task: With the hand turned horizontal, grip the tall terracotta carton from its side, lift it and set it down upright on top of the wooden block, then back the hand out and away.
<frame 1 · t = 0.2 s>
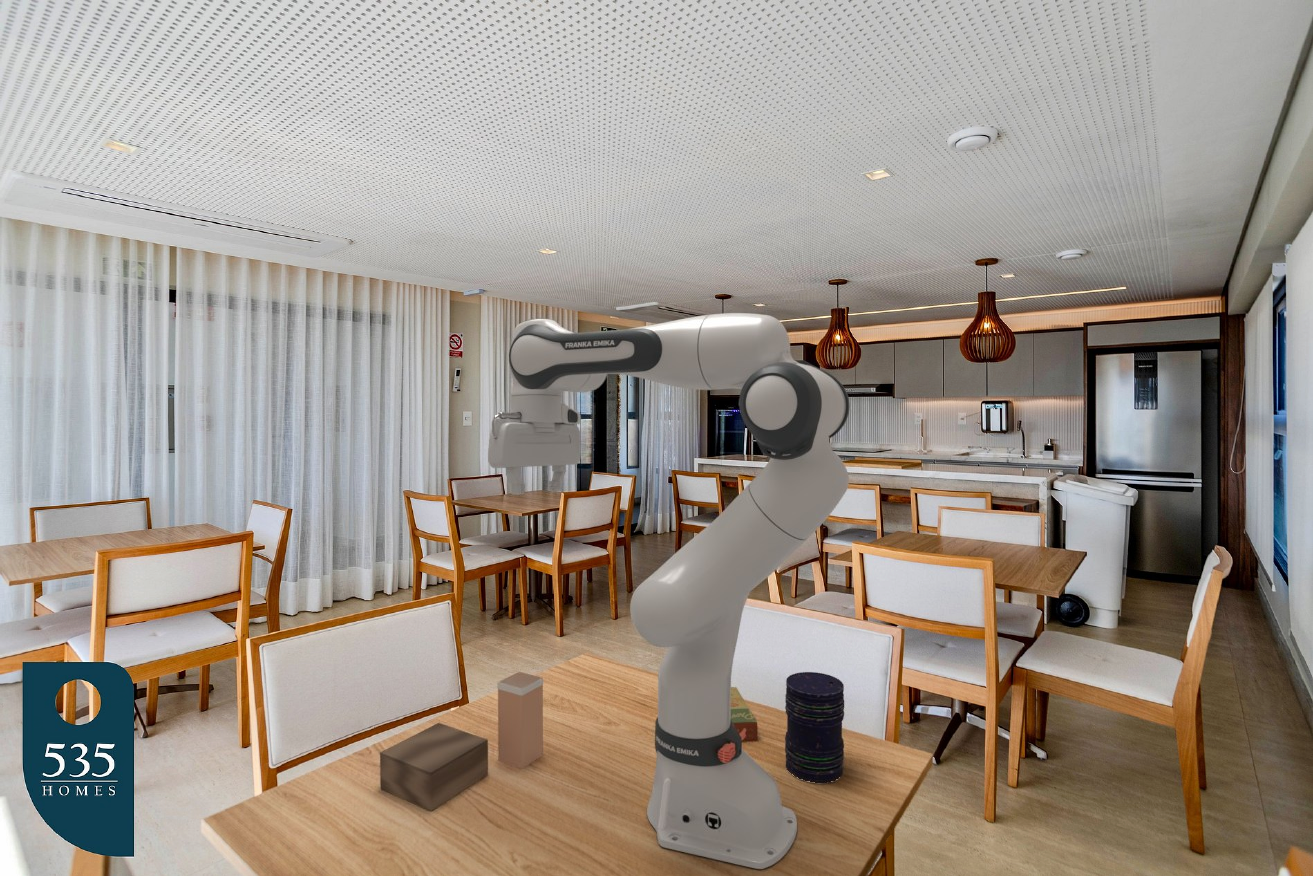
hand: (537, 492, 114), 47 cm above the table, tool pointing down, fingers open, 8 cm apart
tall carton: (520, 757, 116), on the table
wooden block: (435, 781, 108), on the table
storage jar: (813, 769, 112), on the table
carton: (726, 725, 129), on the table
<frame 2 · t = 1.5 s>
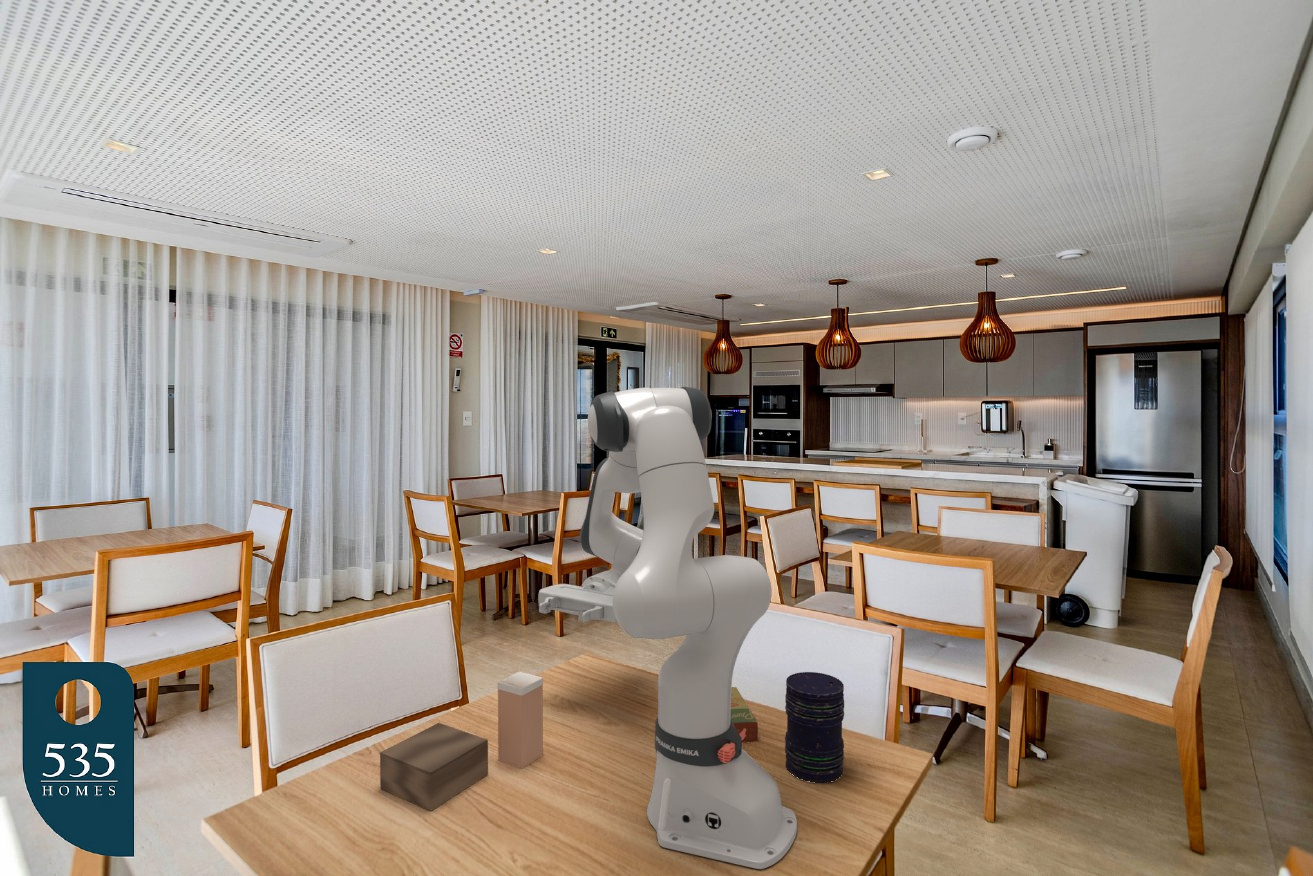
hand: (561, 613, 125), 23 cm above the table, tool horizontal, fingers open, 8 cm apart
nothing on the table moved.
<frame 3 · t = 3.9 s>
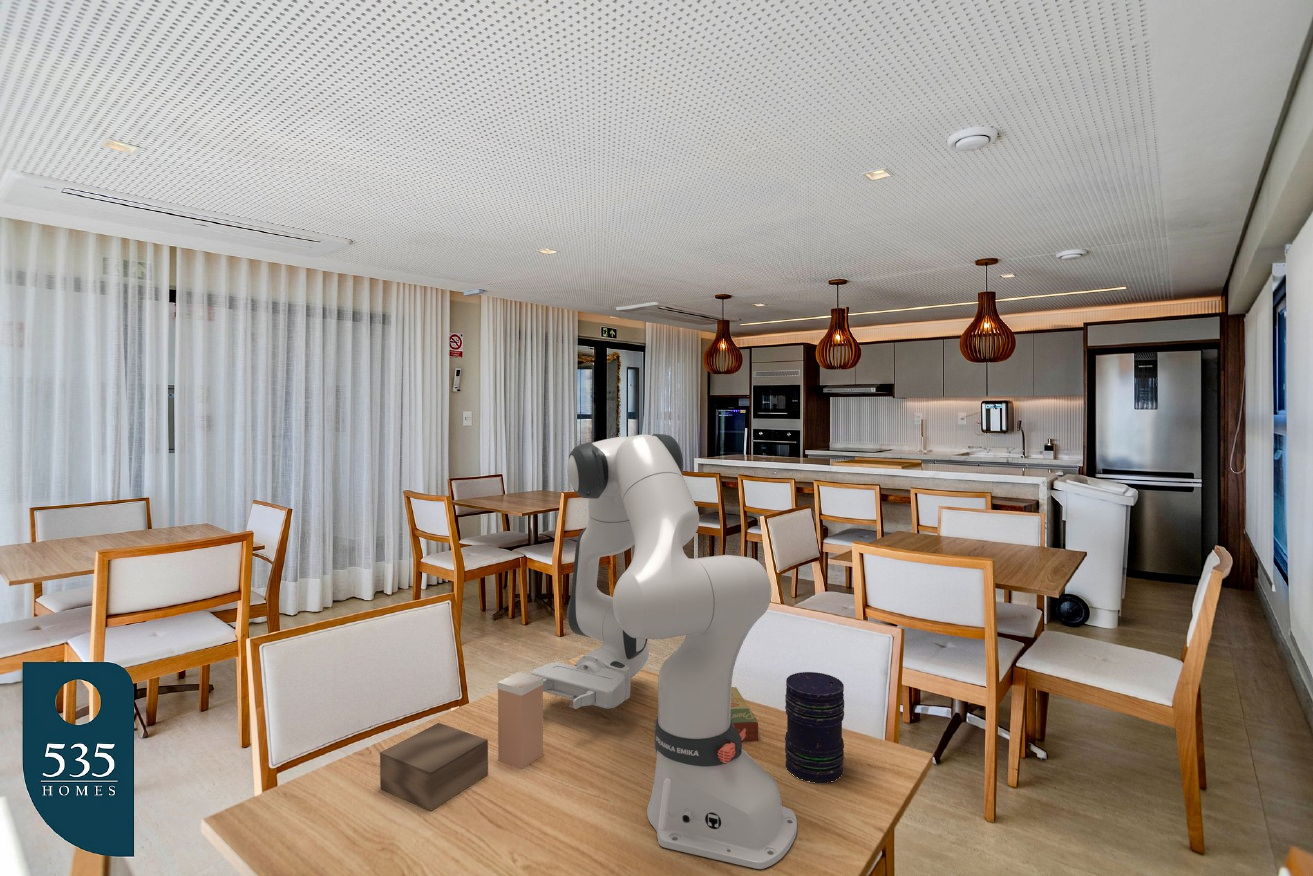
hand: (552, 698, 123), 7 cm above the table, tool horizontal, fingers open, 8 cm apart
nothing on the table moved.
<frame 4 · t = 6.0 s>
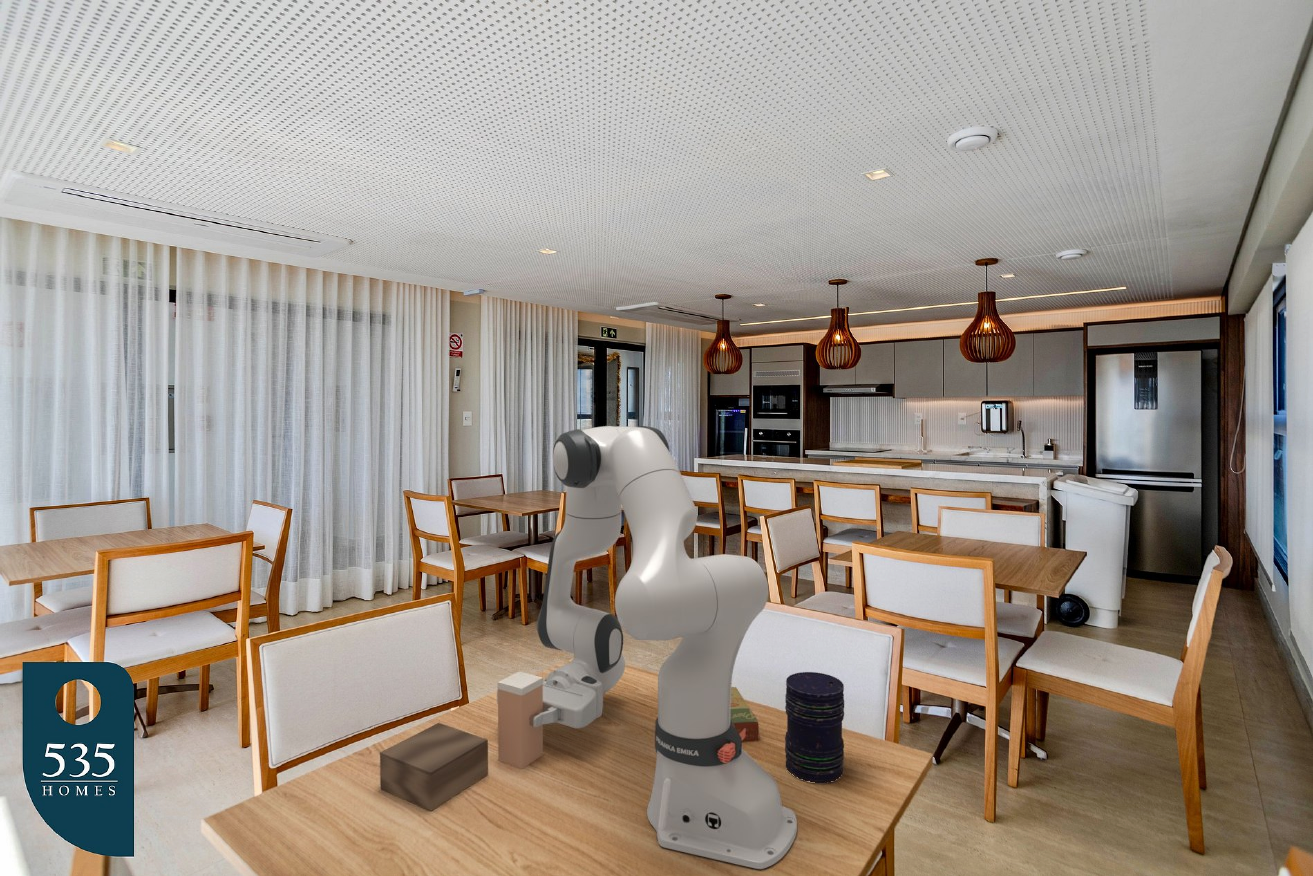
hand: (517, 717, 115), 8 cm above the table, tool horizontal, fingers closed on tall carton, 5 cm apart
tall carton: (520, 757, 116), on the table, touching gripper
everything else where it was.
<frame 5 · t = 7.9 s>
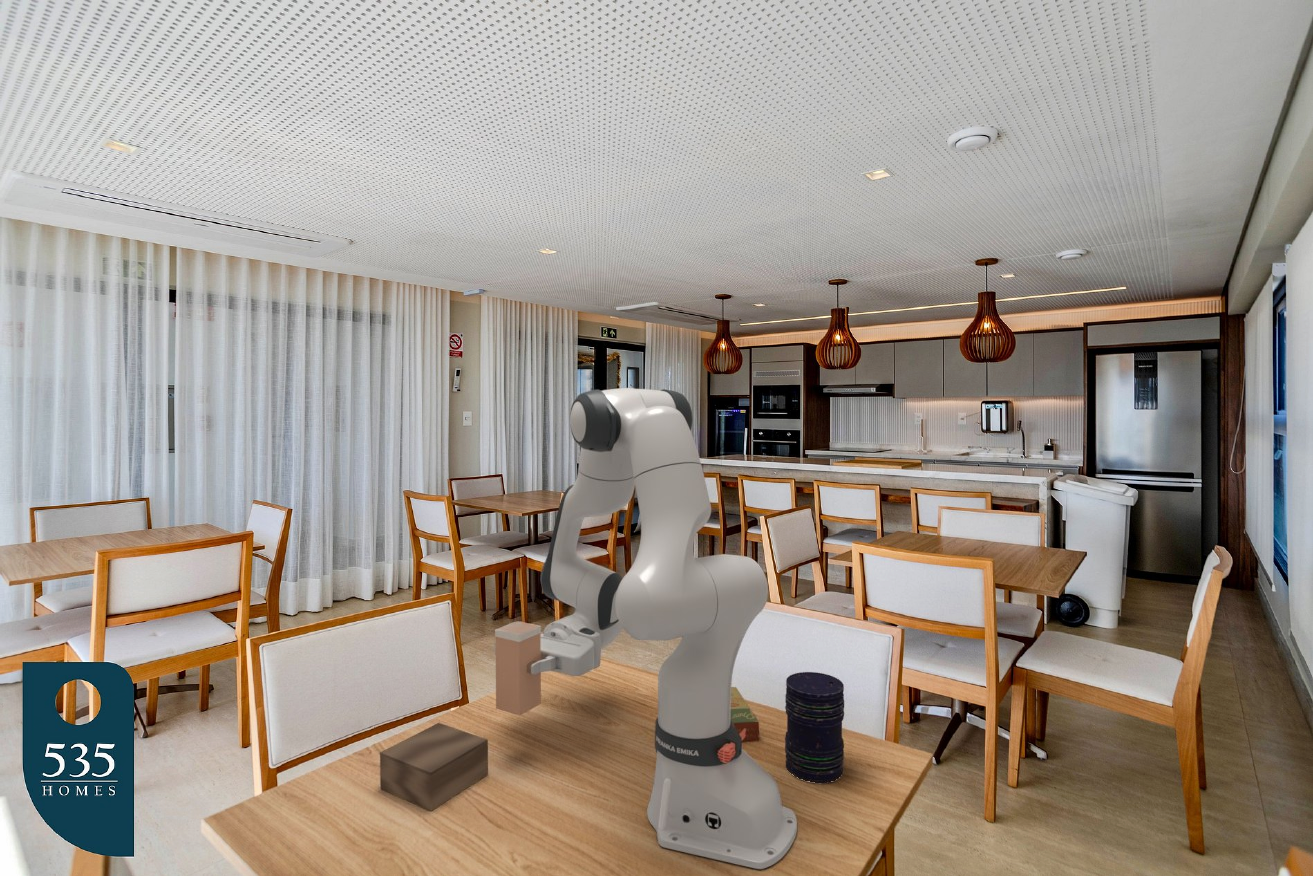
hand: (514, 665, 114), 17 cm above the table, tool horizontal, fingers closed on tall carton, 5 cm apart
tall carton: (518, 706, 115), point 9 cm above the table, touching gripper
everything else where it was.
when the fingers open (15 cm above the table, at t = 9.9 s): tall carton drops 1 cm, resting on wooden block.
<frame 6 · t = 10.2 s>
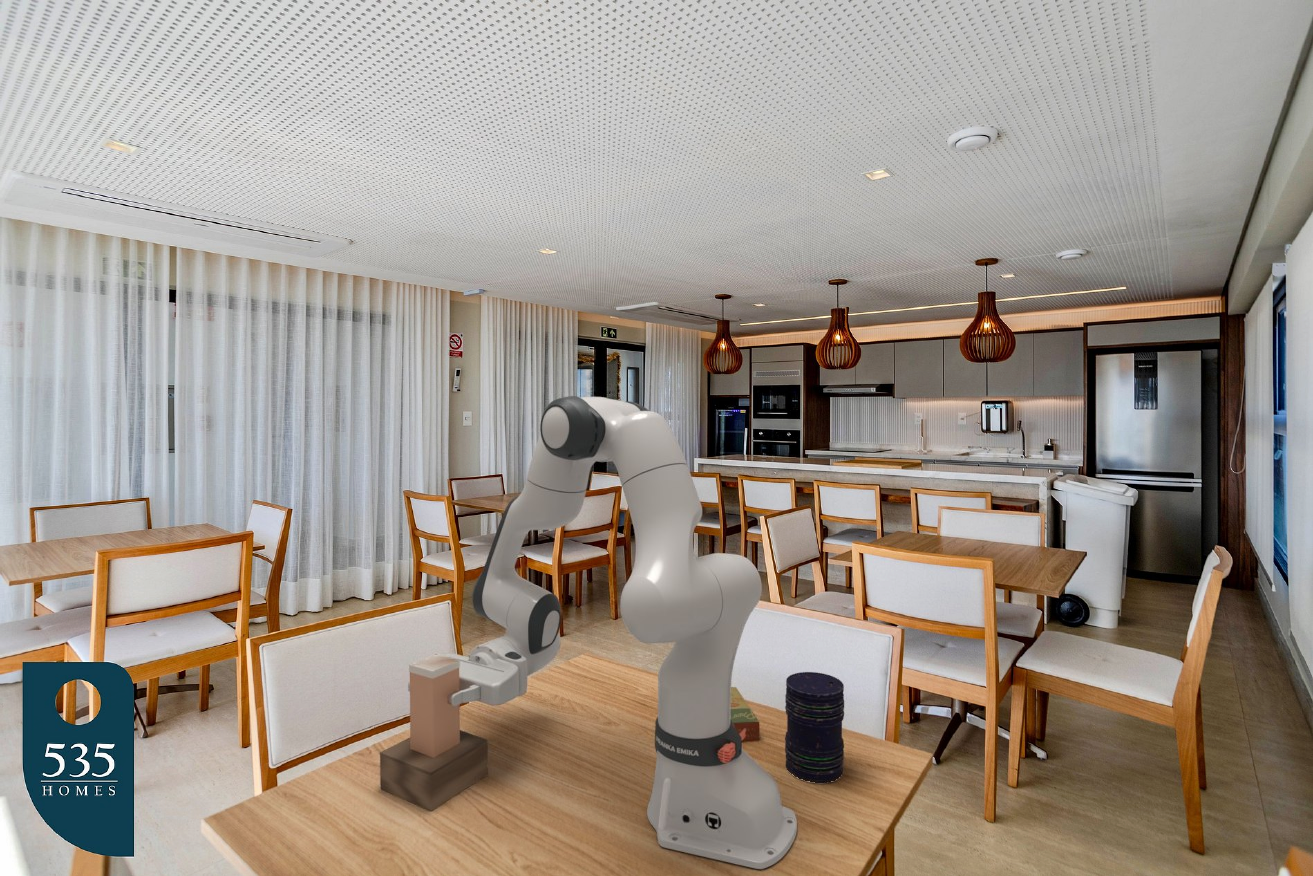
hand: (430, 694, 107), 15 cm above the table, tool horizontal, fingers open, 8 cm apart
tall carton: (435, 746, 108), point 6 cm above the table, touching wooden block
everything else where it was.
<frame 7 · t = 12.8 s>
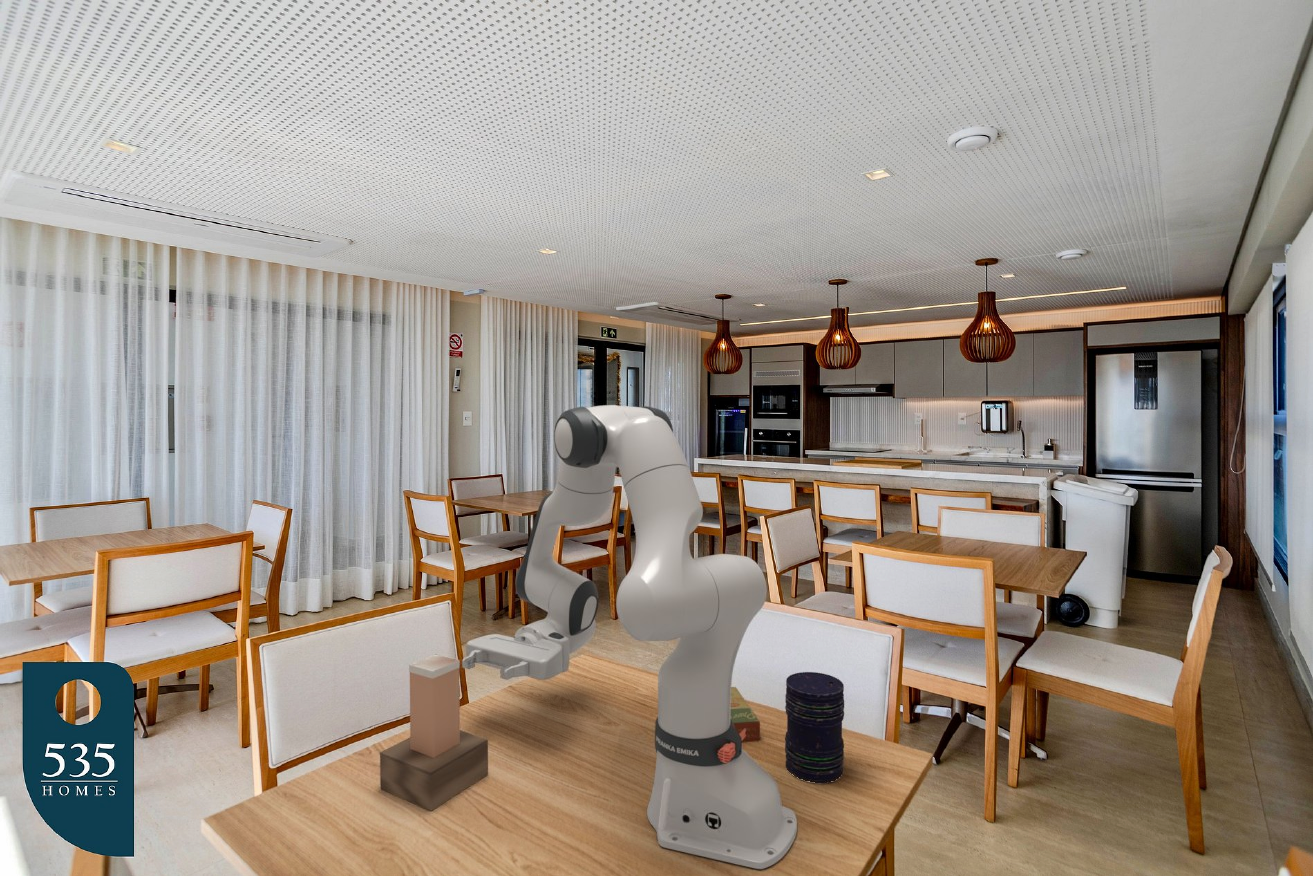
hand: (483, 669, 117), 15 cm above the table, tool horizontal, fingers open, 8 cm apart
nothing on the table moved.
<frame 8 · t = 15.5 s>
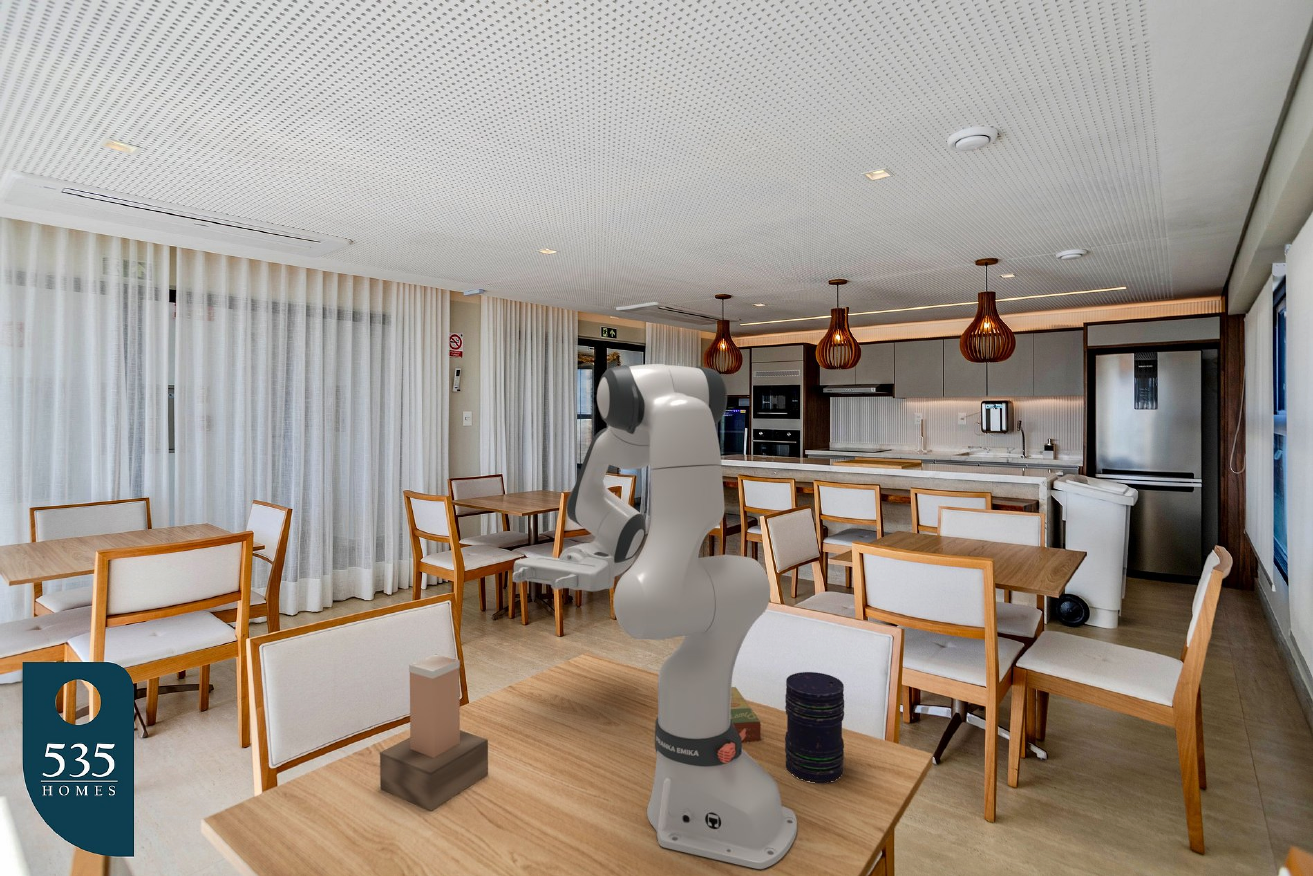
hand: (534, 581, 121), 30 cm above the table, tool horizontal, fingers open, 8 cm apart
nothing on the table moved.
at the end: tall carton inside the target area on the wooden block (0.1 cm from its centre), point 6.0 cm above the wooden block's base; tall carton tilted 0°; the gripper is holding nothing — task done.
